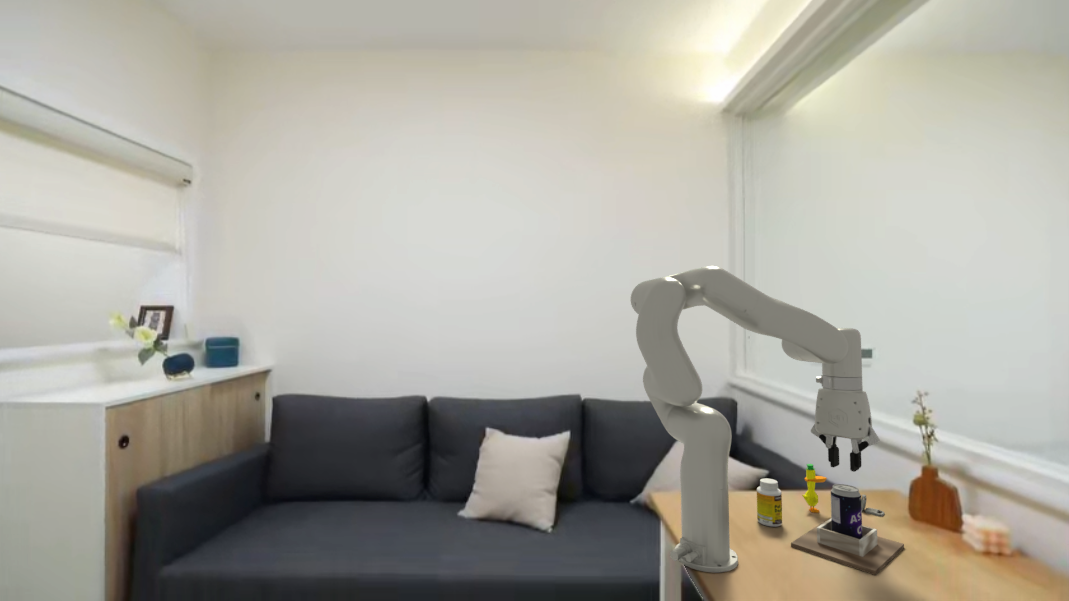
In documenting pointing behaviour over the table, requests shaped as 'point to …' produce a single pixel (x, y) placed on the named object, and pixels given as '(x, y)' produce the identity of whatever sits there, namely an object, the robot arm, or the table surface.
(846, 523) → the beverage can
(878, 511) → the strap clip
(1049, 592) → the table surface
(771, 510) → the supplement bottle
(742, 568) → the table surface
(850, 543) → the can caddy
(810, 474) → the toy figure
